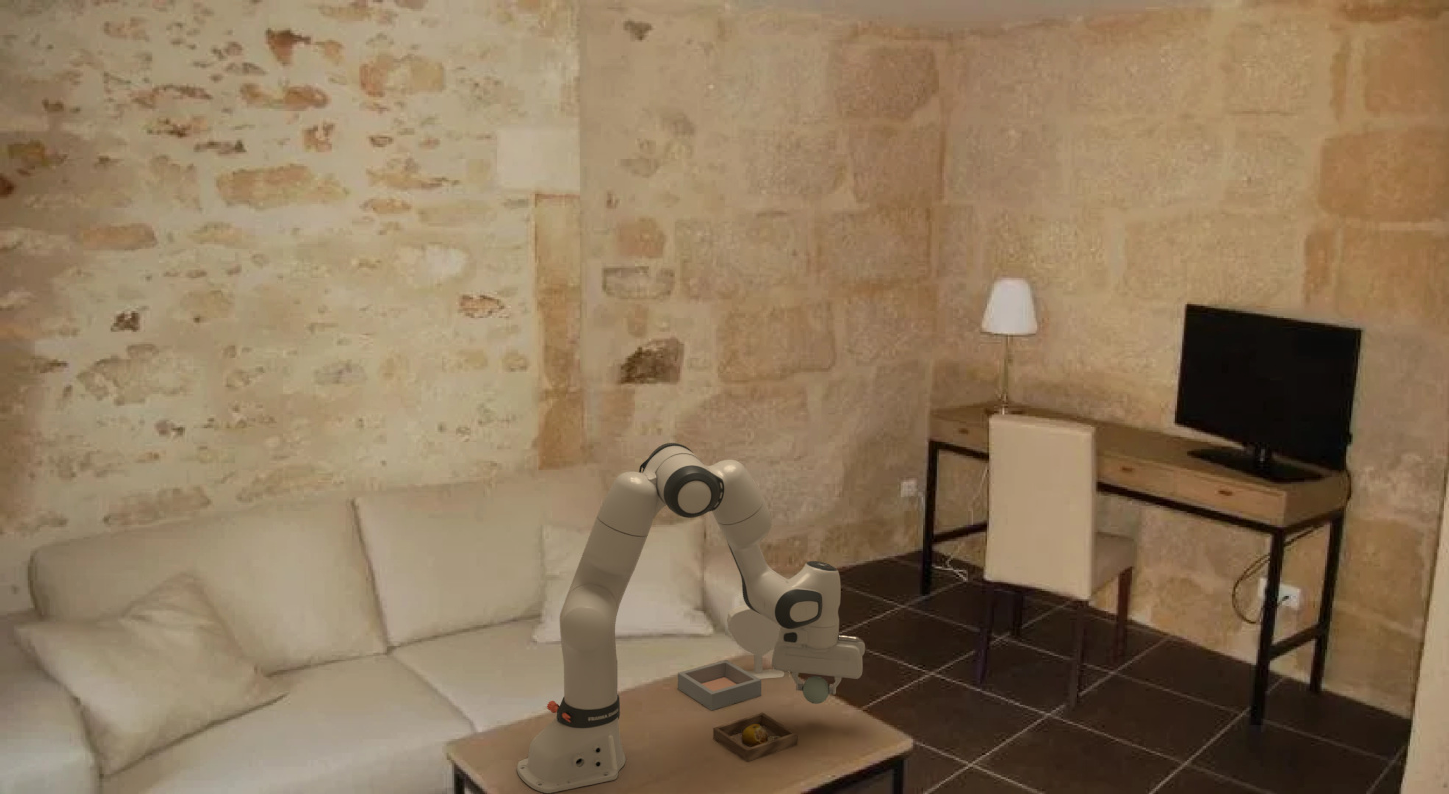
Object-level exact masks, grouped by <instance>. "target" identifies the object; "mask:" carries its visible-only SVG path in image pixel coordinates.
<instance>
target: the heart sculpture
mask: <svg viewBox="0 0 1449 794" xmlns="http://www.w3.org/2000/svg"><path fill="white" fill-rule="evenodd" d="M727 613H728V614H727V620H726V622H727V623H726V624H727V629H728V631H729V633H730V635H731V636H732V638H733V639H734V641H735V643H736V644H737V645H738V646H740V647H741V648H742V649H744V650H745V651H747V652H749V653H750V654H752V655H754V657H753V662H754V663H753V670H746V671H747V672H748V673H750V674H752V675H754V676H755V677H757V678H759V679H761V680H762V679H772V678H773V679H775V678H776V679H777V678H784V676H785V671H780V670H775V669H774V668H772V669H770V668H769V669H763V657H764V656H765V655H766V654H768V653H770V652H771V651H772V650H773V651H774V647H775V644H776V642H777V640H778V638H779V630H780V628H781V626H779V625H778V624H776V623H775V622H773V621H771V620H769V619H768V618H766V617H765V616H763V615H762V614H759V613H757V612H755V611H753V610H751V609H750V608H749V607H748V606H747V605H746V603H745V604H741V605H738V606H736V607H733V608H732V609H730V610H729V611H728V612H727Z"/></svg>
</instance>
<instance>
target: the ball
mask: <svg viewBox="0 0 1449 794" xmlns="http://www.w3.org/2000/svg"><path fill="white" fill-rule="evenodd" d="M829 686H830V684H829V683H828V682H827V680H825V679H824V678H822V677H821V676H819V675H816V676H815V675H814V676H811V677H808V678H807V679H806V680H805V681H804V683H803V691H802V694H803V697H804V699H806V701H808V702H809V703H811V704H815V705H817V704H818V705H819V704H822V703H823V702H825V701H826V700H827V699H828V697H829V695H830V694H829Z"/></svg>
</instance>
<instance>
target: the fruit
mask: <svg viewBox="0 0 1449 794" xmlns="http://www.w3.org/2000/svg"><path fill="white" fill-rule="evenodd" d="M740 737H741V740H742V742H743V744H745V745H746V746H749V747H754V746H757V745H760V744H763V743H766V742H769V741H772V740H775V738H781V737H780V736H778V735H768V732H767V730H766V729H765V727H763V726H762V725H759V724H753V725H750V726H748V727H746V728H745V729H744V731H742V733H741V736H740Z"/></svg>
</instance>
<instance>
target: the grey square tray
mask: <svg viewBox="0 0 1449 794" xmlns="http://www.w3.org/2000/svg"><path fill="white" fill-rule="evenodd" d="M747 671H748V670H745V669H743V668H742V667H740V666H738V665H736V664H735V663H733V662H731V661H729V660H727V659H723V660H720V661H718V662H713V663H709V664H705V665H702V666H699V667H695V668H691V669H688V670H684V671H680V672H677V689H678V690H679V691H681V692H683V693H684V694H685V695H686V696H689V697H690V698H692V699H693V700H695V701H696V702H698V703H699V704H701V705H702V704H703V706H704V707H706V708H707V709H709V710H711V711H715V710H718V709H721V707H722V708H725V707H727V706H728V705H729V706H731V705H730V704H732V705H735V704H737V703H738V702H739V703H741V702H740V701H742V702H745V701H748V700H747V699H749V700H751V699H755V698H758V697H757V696H759V697H761V696H762V679H759V678H757V677H755V676H754V675H752V674H750V673H748V672H747ZM734 703H735V704H734ZM739 703H738V704H739ZM729 706H728V707H729Z"/></svg>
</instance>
